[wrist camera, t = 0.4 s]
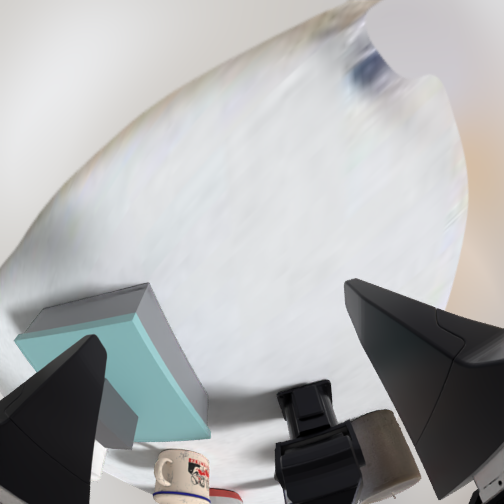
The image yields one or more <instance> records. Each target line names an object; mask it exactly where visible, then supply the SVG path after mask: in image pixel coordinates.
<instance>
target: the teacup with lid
mask: <svg viewBox="0 0 504 504" xmlns="http://www.w3.org/2000/svg"><path fill="white" fill-rule="evenodd" d="M154 475H155V478H156V483H155V493H153V498H154V500H155V501H156V502H158V503H160V504H210V503H211V501H210V500H209V461H208V459H207V458H206V457H205V456H203V455H201V454H198V453H196V452H192V451H187V450H177V449H174V450H166V451H163V452H161V453H160V454H159V457H158V460H157V461H156V463H155V466H154Z"/></svg>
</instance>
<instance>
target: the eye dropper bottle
mask: <svg viewBox="0 0 504 504" xmlns="http://www.w3.org/2000/svg"><path fill="white" fill-rule="evenodd" d="M107 450H108V448H105V447H103V446H102V445H101V444H100V443H99V442H98V441H96V440H95V443H94V451H93V460H92V470H91V481H93V482H97V481H99V480H100V478H101V475H102V471H103V466H104V462H105V458H106V454H107Z"/></svg>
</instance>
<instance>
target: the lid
mask: <svg viewBox="0 0 504 504" xmlns="http://www.w3.org/2000/svg"><path fill="white" fill-rule="evenodd" d="M89 334H95V335H97V336H98V338H99V339H100V341H101V343H102V344H103V346H104V348H105V349H106V351H107V363H106V371H105V380H104V389H103V395H102V400H101V405H100V411H99V417H98V423H97V429H96V436H95V440H96V441H98V442H99V443H100V444H101V445H102V446H103V447H105V448H112V449H130V450H132V446H133V442H170V441H188V440H200V439H211V431H210V429H209V428H208V427H207V425H206V424H205V423H204V421H203V420H202V419H201V417H200V416H199V414H198V413H197V412H196V410H195V409H194V407H193V406H192V404H191V403H190V402H189V400H188V399H187V397H186V396H185V394H184V393H183V391H182V390H181V388H180V387H179V385H178V384H177V382H176V381H175V379H174V377H173V376H172V374H171V373H170V371H169V370H168V368H167V366H166V365H165V363H164V361H163V360H162V358H161V356H160V355H159V353H158V351H157V350H156V348H155V346H154V345H153V343H152V341H151V339H150V338H149V336H148V334H147V332H146V330H145V329H144V327H143V325H142V323H141V321H140V319H139V317H138V316H137V314H136V312H135V313H130V314H125V315H120V316H116V317H111V318H106V319H101V320H96V321H91V322H85V323H80V324H75V325H70V326H64V327H59V328H53V329H48V330H42V331H36V332H30V333H24V334H18V336H17V337H16V338H15V340H14V342H15V343H16V345H17V346H18V347H19V349H20V350H21V352H22V353H23V355H24V356H25V357H26V359H27V360H28V361H29V363H30V364H31V365H32V367H33V368H34V369H35V371H36V372H38V371H39V370H41V369H42V368H43V367H45V366H46V365H47V364H48V363H50V362H51V361H52V360H54V359H55V358H56V357H58V356H59V355H60V354H61V353H63V352H64V351H65V350H67V349H68V348H69V347H71V346H72V345H73V344H75V343H76V342H77V341H79V340H80V339H81V338H83V337H84V336H85V335H89Z"/></svg>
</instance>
